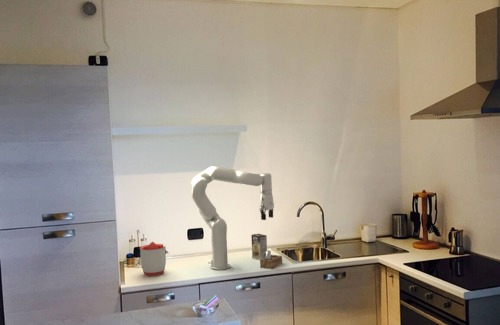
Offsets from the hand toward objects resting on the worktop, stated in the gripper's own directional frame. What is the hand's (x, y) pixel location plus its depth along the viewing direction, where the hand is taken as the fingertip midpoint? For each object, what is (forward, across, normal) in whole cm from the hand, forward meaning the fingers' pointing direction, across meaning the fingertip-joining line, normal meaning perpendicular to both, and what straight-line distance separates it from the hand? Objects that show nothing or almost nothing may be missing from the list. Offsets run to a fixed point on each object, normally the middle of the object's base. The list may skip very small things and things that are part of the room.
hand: (267, 218), depth 304 cm
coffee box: (+28, +5, +10) cm, 31 cm away
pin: (+28, -11, -6) cm, 31 cm away
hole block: (+28, -8, -6) cm, 30 cm away
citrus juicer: (+28, -51, +52) cm, 78 cm away
